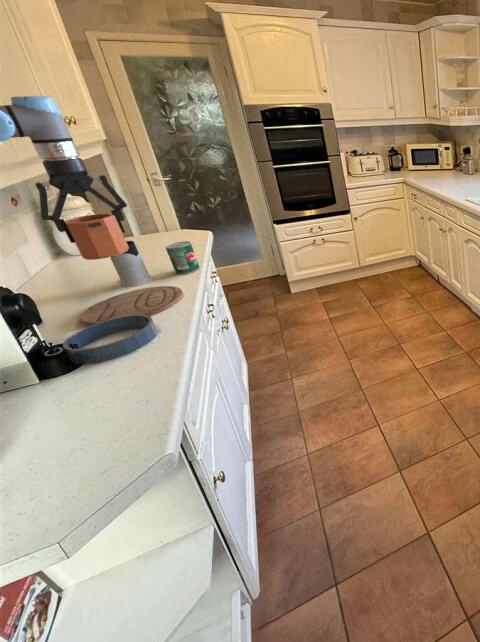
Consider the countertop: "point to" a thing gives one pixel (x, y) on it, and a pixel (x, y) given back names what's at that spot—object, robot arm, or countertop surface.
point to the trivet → (133, 304)
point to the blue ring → (115, 347)
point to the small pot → (97, 236)
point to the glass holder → (131, 267)
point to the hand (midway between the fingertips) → (98, 236)
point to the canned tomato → (182, 257)
